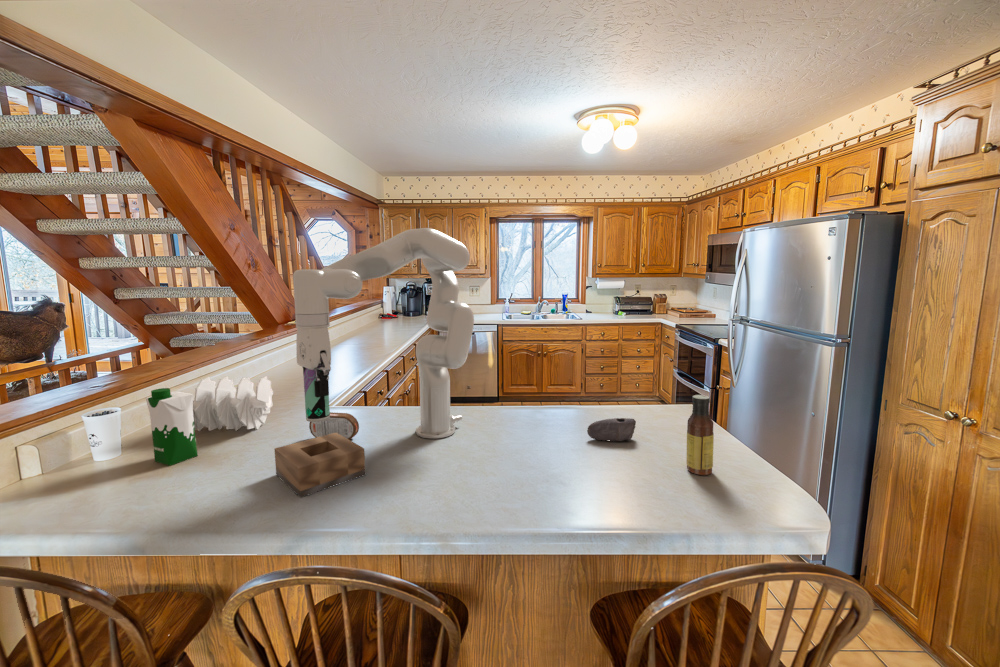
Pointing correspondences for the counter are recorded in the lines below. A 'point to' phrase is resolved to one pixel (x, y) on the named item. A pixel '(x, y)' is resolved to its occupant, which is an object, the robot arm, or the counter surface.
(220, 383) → the spiral staircase
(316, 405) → the spray can
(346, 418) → the tin
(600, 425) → the perforated stone tool
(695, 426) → the sauce bottle
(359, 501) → the counter surface
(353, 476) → the socket block
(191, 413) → the milk carton
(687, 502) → the counter surface
